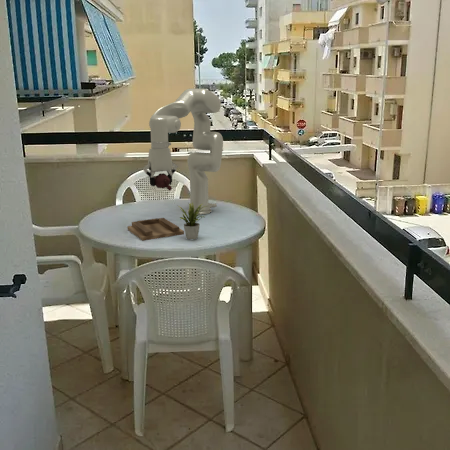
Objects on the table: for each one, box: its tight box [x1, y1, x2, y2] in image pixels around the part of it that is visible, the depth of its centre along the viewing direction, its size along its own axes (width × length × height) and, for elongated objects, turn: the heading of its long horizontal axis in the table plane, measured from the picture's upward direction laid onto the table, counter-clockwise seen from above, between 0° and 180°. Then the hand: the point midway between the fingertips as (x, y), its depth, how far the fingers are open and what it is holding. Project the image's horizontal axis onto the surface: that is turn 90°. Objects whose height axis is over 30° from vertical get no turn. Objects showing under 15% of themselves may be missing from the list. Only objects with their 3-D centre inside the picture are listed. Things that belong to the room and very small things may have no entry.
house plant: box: [178, 203, 206, 240], centre depth 223 cm, size 14×14×16 cm
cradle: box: [127, 217, 185, 242], centre depth 234 cm, size 20×20×4 cm
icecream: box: [153, 172, 173, 191], centre depth 228 cm, size 7×7×15 cm
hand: (161, 184), depth 229 cm, fingers closed on icecream, 7 cm apart
